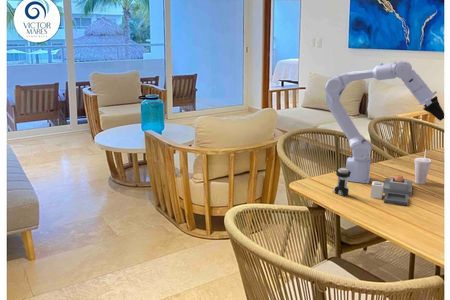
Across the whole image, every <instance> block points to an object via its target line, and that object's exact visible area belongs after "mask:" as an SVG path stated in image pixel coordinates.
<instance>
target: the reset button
mask: <svg viewBox="0 0 450 300" xmlns="http://www.w3.org/2000/svg"><path fill="white" fill-rule="evenodd" d="M394 177H395V180H394V182H400V183H403V179H404V176H403V175H401V174H396V175H394Z"/></svg>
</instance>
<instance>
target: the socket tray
mask: <svg viewBox="0 0 450 300" xmlns="http://www.w3.org/2000/svg"><path fill="white" fill-rule="evenodd" d="M383 203H384V204H390V205H397V206H403V207H408V206H409V196H408V195H407V194H400V193H392V192H386V193H384V199H383Z"/></svg>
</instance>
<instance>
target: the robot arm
mask: <svg viewBox="0 0 450 300" xmlns="http://www.w3.org/2000/svg"><path fill="white" fill-rule="evenodd" d="M396 78H398V79H400V80H401V81H402V82H403V83H404V86H405V87H406V88H407V89H408V91H409V92H410V93H411V94H412V96H414V98H415V99H416V100H417V102H419V105H420V106H421V105H423V110H424V111H425V112H428V113H429V114H431V115H432V116H433V117H434V118H436V119H437V120H438V121H440V122H441V121H443V119H445V118H444V116H445V112H444V110H443V108H442V107H441V105H440V102H439V99H438V96H437V95H436V94H438V92H437V90H435V91H434V92H433V90H432V89H430V87H429V86H428V85H427V84H426V83H425V81H424V79H422V78H421V76H420V75H419V74H418V73H417V72H416V71H415V70H414V69H413V66H412V65H411V63H410V62H409V61H406V60H401V61H399V62H397V61H393V62H391V63H383V62H380V63H379V64H378V65H375V67H374V68H373V69H367V70H366V69H365V70H356V71H348V72H344V73H341V74H336V75H334V76H333V77H330V78H329V79H328V80H327V81H326V83H325V86H324V92H325V105H326V106H327V108H328V109H329V111H330V113H331V114H332V116H333V118H334V119H335V121H336V123H337V124H338V125H339V127H340V129H341V130H342V132H343V134H344V135H345V137H346V138H347V140H348V143H349V147H350V150H351V152H352V153H351V154H352V157H347V159H346V163H345V168H347V169H349V171H350V172H351V174H350V177H348V181H347V182H353V183H361V184H369V183H370V181H371V176H370V172H371V171H370V170H371V169H370V168H371V163H372V161H371V160H372V158H371V156H370V153H371V152H372V150H373V146H372V143H371V142H370V141H368V140H367V139H366V138H365V136H363V135H362V134H361V133H360V132H359V130H358V128H357V127H356V125H355V123H354V122H353V120H352V119H351V117H350V115H349V114H348V112H347V111H346V109H345V108H344V106H343V104H342V102H341V101H340V100H341V96H342V93H343V92H344V90H345V89H346V87H347V85H349V84H351V83H353V82H356V81H362V80H368V79H375V80H376V81H383V80H385V81H386V80H391V79H392V80H393V79H396Z"/></svg>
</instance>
